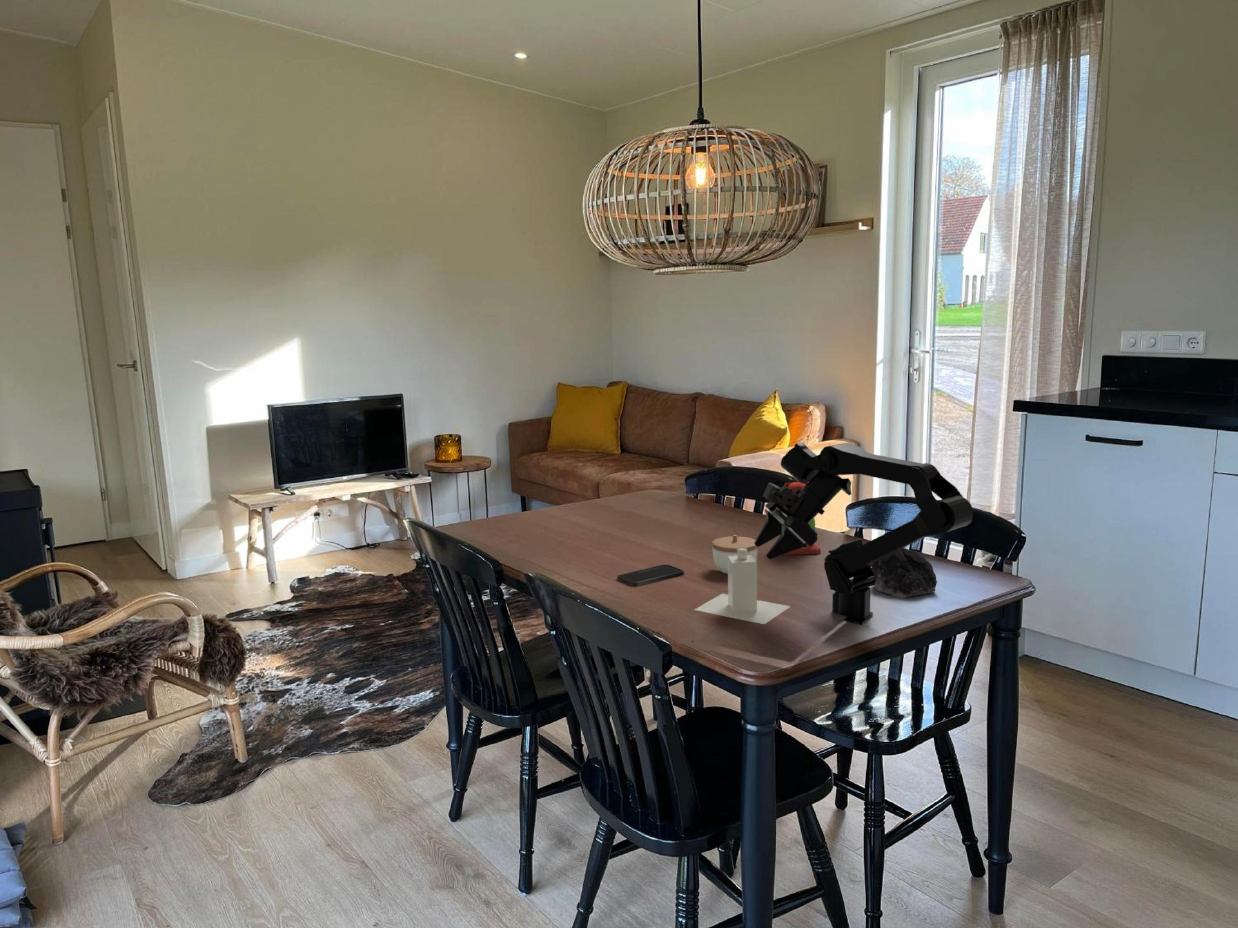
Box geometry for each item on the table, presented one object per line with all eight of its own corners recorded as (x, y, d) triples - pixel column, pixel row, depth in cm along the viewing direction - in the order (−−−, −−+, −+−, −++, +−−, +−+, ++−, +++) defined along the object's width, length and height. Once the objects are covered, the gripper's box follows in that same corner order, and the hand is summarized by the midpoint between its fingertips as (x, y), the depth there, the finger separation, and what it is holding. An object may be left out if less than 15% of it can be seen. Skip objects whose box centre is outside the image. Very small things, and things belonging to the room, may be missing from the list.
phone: (686, 571, 205) (634, 583, 197) (686, 575, 205) (634, 588, 197) (666, 563, 211) (615, 575, 203) (666, 568, 211) (615, 579, 203)
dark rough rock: (945, 601, 183) (949, 555, 182) (881, 598, 183) (886, 552, 182) (922, 586, 197) (926, 543, 196) (863, 583, 196) (867, 540, 195)
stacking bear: (780, 555, 218) (780, 487, 215) (772, 545, 228) (772, 479, 225) (822, 554, 218) (823, 485, 215) (812, 543, 228) (813, 477, 225)
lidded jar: (703, 575, 204) (702, 536, 202) (728, 564, 212) (728, 527, 210) (741, 583, 197) (741, 543, 195) (766, 572, 205) (766, 533, 203)
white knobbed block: (751, 603, 180) (751, 545, 178) (757, 611, 175) (756, 552, 173) (728, 604, 180) (727, 546, 178) (732, 612, 175) (732, 553, 173)
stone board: (790, 610, 178) (790, 606, 178) (764, 628, 169) (764, 624, 168) (722, 597, 187) (722, 593, 187) (694, 614, 178) (694, 609, 178)
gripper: (775, 461, 182) (724, 514, 183) (802, 478, 164) (745, 537, 165) (810, 496, 184) (760, 548, 185) (841, 516, 166) (785, 574, 167)
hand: (761, 551), depth 176 cm, fingers open, 9 cm apart
